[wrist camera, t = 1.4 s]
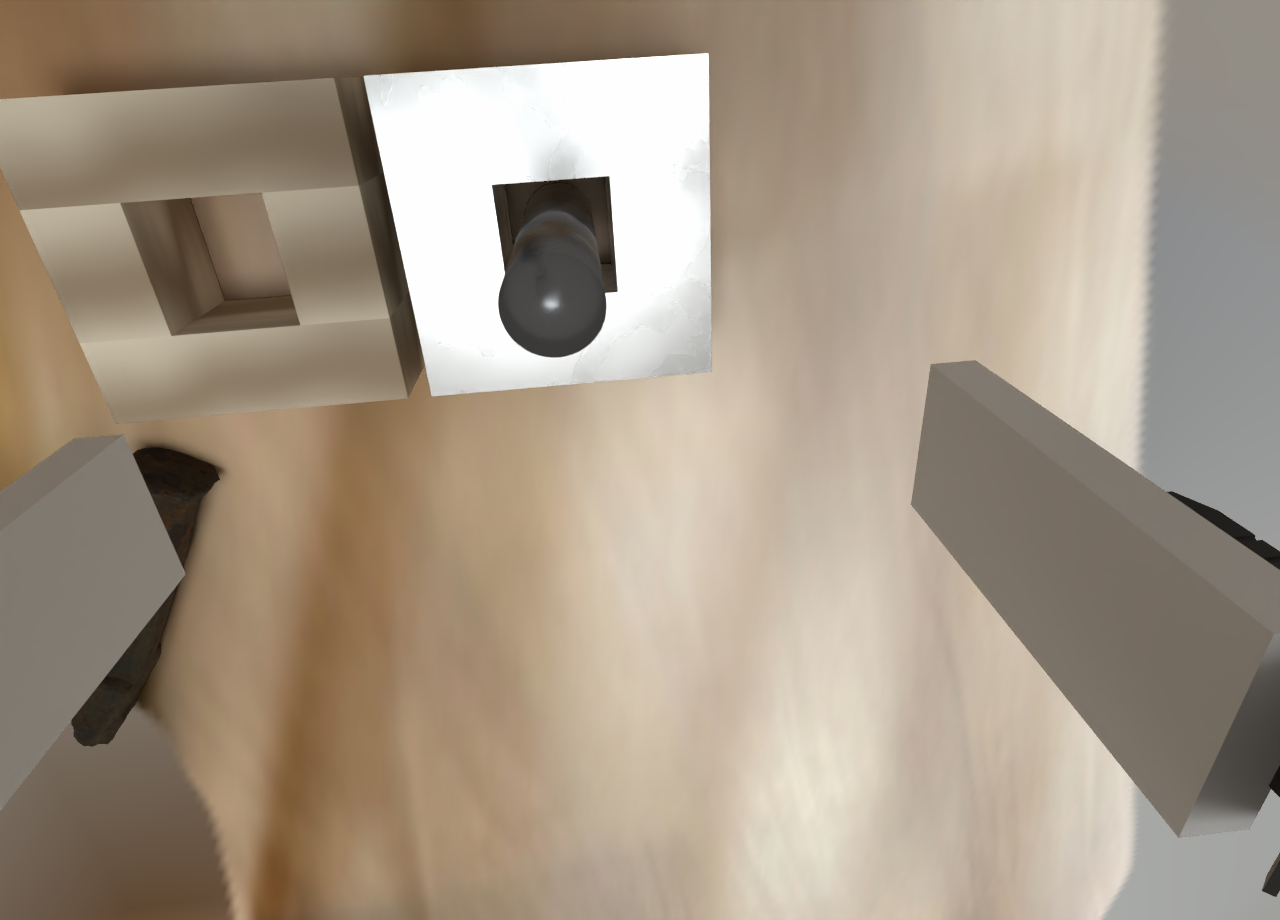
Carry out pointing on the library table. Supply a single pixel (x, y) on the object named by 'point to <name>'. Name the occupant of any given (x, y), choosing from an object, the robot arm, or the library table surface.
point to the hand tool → (176, 499)
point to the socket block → (542, 151)
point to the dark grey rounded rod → (554, 276)
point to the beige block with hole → (178, 257)
